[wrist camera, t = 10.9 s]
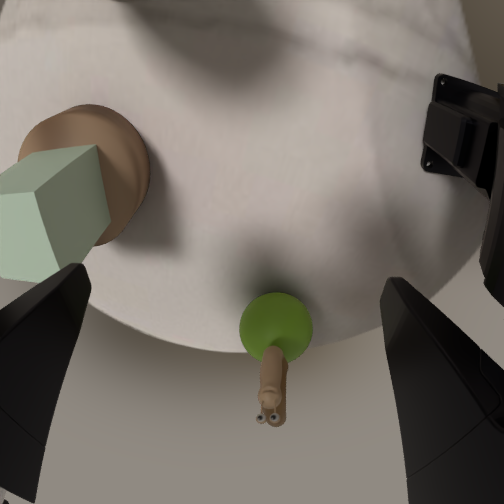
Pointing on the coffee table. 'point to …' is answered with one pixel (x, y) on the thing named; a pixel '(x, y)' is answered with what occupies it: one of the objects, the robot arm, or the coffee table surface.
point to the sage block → (50, 212)
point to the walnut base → (100, 156)
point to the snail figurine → (275, 347)
